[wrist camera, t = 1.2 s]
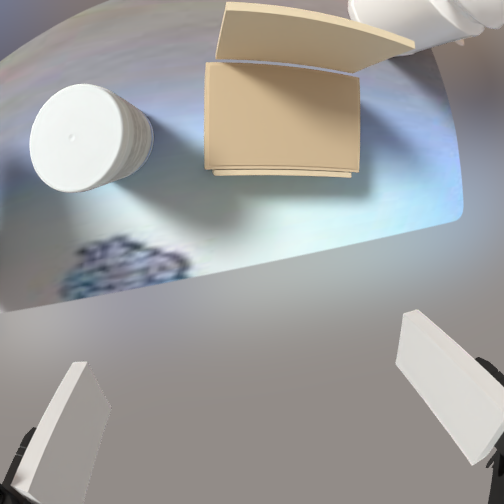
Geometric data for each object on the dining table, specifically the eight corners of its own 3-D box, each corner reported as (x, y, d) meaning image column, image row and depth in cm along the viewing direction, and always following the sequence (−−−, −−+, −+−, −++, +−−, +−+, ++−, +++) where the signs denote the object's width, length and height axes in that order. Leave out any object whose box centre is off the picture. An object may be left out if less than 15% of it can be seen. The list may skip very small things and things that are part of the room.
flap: (215, 59, 26) (226, 10, 15) (215, 51, 26) (226, -1, 15) (352, 73, 29) (415, 48, 18) (352, 66, 29) (414, 39, 18)
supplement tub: (142, 94, 32) (111, 61, 18) (164, 161, 35) (143, 165, 21) (76, 125, 31) (17, 115, 17) (97, 190, 34) (46, 212, 21)
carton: (204, 173, 36) (205, 176, 30) (204, 76, 32) (206, 62, 26) (337, 174, 39) (359, 178, 33) (338, 86, 35) (359, 77, 29)
